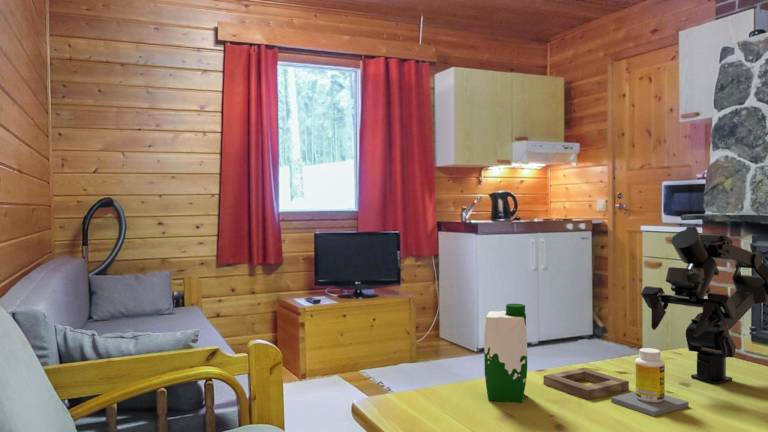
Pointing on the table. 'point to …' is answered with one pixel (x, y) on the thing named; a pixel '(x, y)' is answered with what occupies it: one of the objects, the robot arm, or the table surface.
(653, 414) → the slate mat
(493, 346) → the milk carton
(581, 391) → the walnut holder
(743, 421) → the table surface
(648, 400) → the supplement bottle
